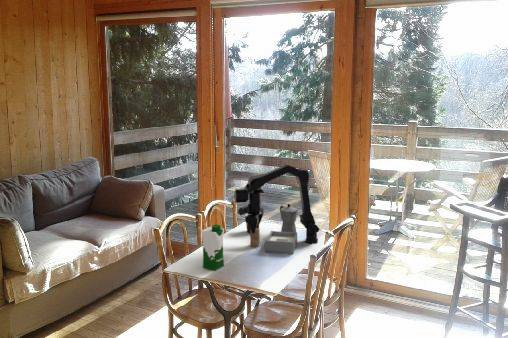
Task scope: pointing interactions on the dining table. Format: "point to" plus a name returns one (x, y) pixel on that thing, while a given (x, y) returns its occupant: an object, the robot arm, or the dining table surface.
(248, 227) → the coffee mug
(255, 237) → the peg
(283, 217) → the coffeepot
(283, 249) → the bore box
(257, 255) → the dining table surface
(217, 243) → the milk carton
